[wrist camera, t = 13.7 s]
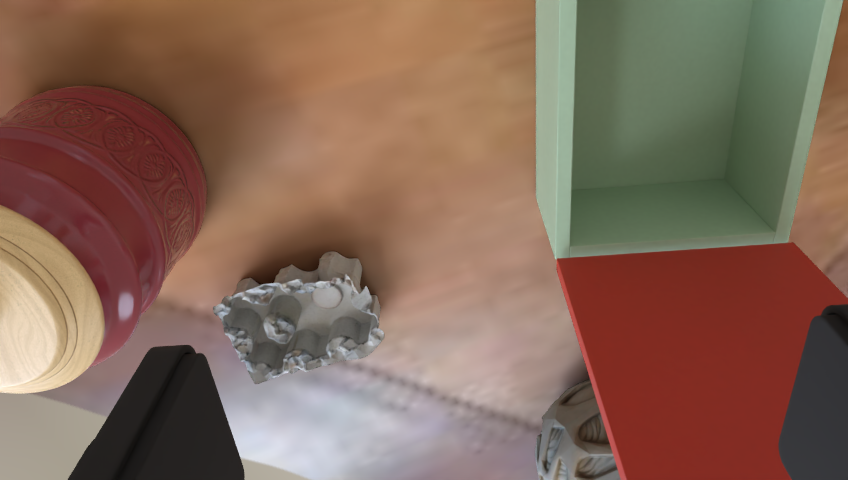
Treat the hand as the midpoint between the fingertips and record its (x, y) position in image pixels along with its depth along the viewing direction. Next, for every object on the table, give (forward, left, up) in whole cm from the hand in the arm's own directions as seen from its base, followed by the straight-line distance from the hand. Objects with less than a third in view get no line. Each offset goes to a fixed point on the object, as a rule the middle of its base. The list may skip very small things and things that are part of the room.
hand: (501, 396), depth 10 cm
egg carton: (+19, -12, -31) cm, 38 cm away
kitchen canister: (+8, -23, -31) cm, 39 cm away
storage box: (+4, +11, -30) cm, 32 cm away
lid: (+11, +11, -14) cm, 21 cm away
